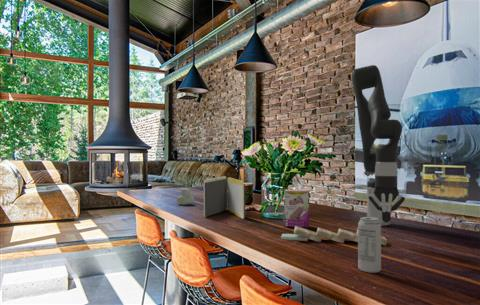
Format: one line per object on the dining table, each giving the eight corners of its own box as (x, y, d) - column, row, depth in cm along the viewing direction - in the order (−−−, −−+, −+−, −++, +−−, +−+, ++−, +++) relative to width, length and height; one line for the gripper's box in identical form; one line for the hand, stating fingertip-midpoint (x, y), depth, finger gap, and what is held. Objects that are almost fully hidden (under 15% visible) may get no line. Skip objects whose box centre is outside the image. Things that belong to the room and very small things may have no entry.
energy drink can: (385, 272, 101) (385, 218, 101) (372, 277, 98) (372, 221, 98) (366, 267, 106) (366, 215, 106) (353, 271, 103) (353, 217, 103)
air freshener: (196, 204, 235) (196, 188, 235) (187, 205, 228) (187, 189, 228) (183, 203, 241) (183, 187, 241) (174, 204, 234) (174, 188, 234)
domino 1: (307, 243, 137) (281, 241, 139) (308, 240, 142) (282, 238, 144) (307, 237, 137) (281, 236, 139) (308, 234, 142) (282, 233, 144)
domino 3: (343, 235, 139) (317, 227, 141) (344, 238, 134) (317, 230, 136) (342, 240, 139) (316, 232, 141) (343, 243, 134) (316, 235, 136)
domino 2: (320, 233, 140) (295, 225, 141) (321, 237, 135) (295, 228, 136) (318, 238, 140) (293, 230, 141) (320, 242, 135) (294, 233, 136)
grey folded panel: (250, 218, 184) (250, 180, 184) (208, 221, 177) (208, 181, 177) (230, 208, 217) (230, 175, 217) (194, 210, 210) (194, 176, 210)
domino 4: (365, 236, 137) (338, 228, 139) (367, 239, 132) (339, 231, 134) (364, 241, 137) (337, 233, 139) (365, 244, 132) (338, 236, 134)
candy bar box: (283, 227, 162) (283, 190, 162) (283, 225, 167) (283, 189, 167) (309, 228, 161) (309, 190, 161) (308, 225, 166) (308, 189, 166)
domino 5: (384, 237, 135) (357, 228, 137) (387, 240, 131) (359, 231, 132) (383, 242, 136) (356, 233, 137) (385, 245, 131) (357, 236, 132)
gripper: (403, 174, 135) (403, 221, 135) (366, 173, 138) (366, 219, 138) (407, 175, 128) (407, 225, 128) (367, 174, 131) (367, 223, 131)
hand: (386, 222), depth 133 cm, fingers closed
